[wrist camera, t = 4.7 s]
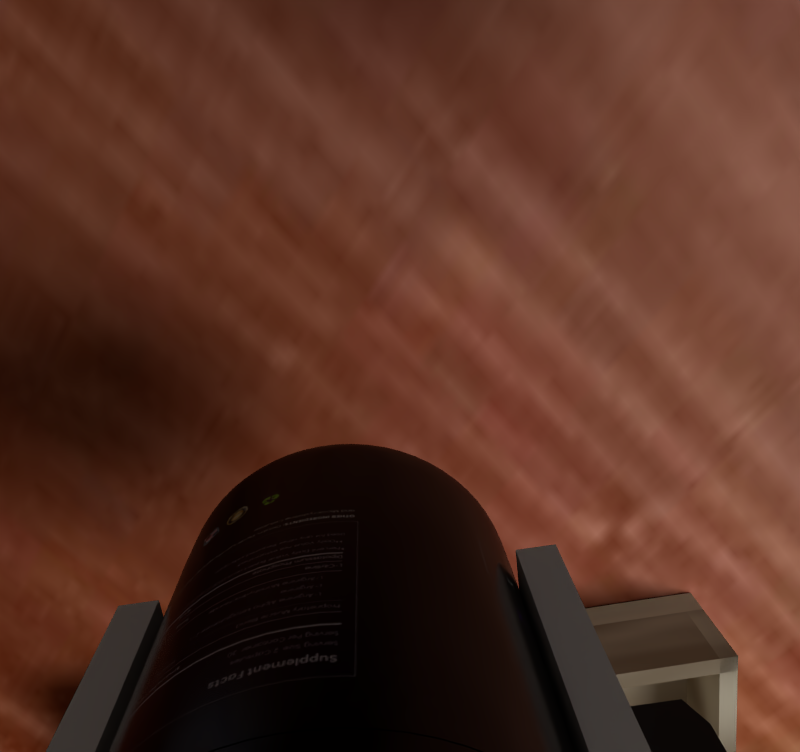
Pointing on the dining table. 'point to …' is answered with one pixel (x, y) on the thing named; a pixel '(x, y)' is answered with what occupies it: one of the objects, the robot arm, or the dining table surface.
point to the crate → (672, 657)
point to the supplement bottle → (345, 621)
